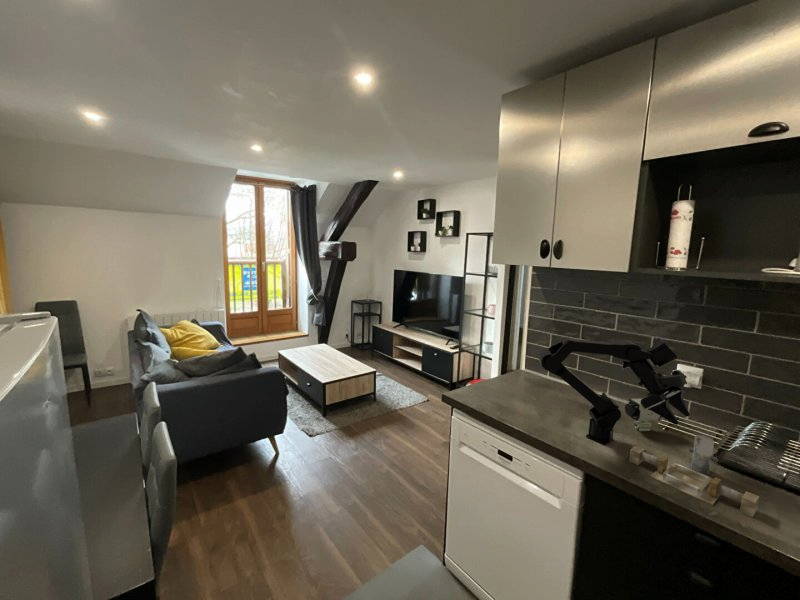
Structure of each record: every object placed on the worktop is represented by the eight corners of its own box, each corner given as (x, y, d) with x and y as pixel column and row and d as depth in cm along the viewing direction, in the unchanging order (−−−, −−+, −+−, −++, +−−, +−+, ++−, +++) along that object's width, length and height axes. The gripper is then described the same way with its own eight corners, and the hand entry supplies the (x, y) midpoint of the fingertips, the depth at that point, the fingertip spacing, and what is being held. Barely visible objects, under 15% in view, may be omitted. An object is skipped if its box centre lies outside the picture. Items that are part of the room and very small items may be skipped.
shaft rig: (624, 464, 109) (626, 451, 109) (639, 453, 115) (640, 441, 114) (749, 522, 87) (752, 506, 86) (759, 505, 92) (762, 490, 91)
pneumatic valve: (622, 426, 132) (625, 396, 130) (652, 425, 133) (655, 395, 131) (632, 434, 127) (636, 402, 125) (663, 433, 128) (668, 401, 126)
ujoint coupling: (685, 467, 108) (689, 436, 107) (690, 462, 111) (694, 432, 109) (713, 479, 103) (717, 447, 101) (717, 473, 105) (722, 442, 104)
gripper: (656, 368, 106) (698, 418, 99) (680, 357, 116) (719, 401, 109) (625, 385, 113) (661, 432, 106) (650, 373, 124) (684, 415, 117)
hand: (683, 420), depth 109 cm, fingers open, 9 cm apart
